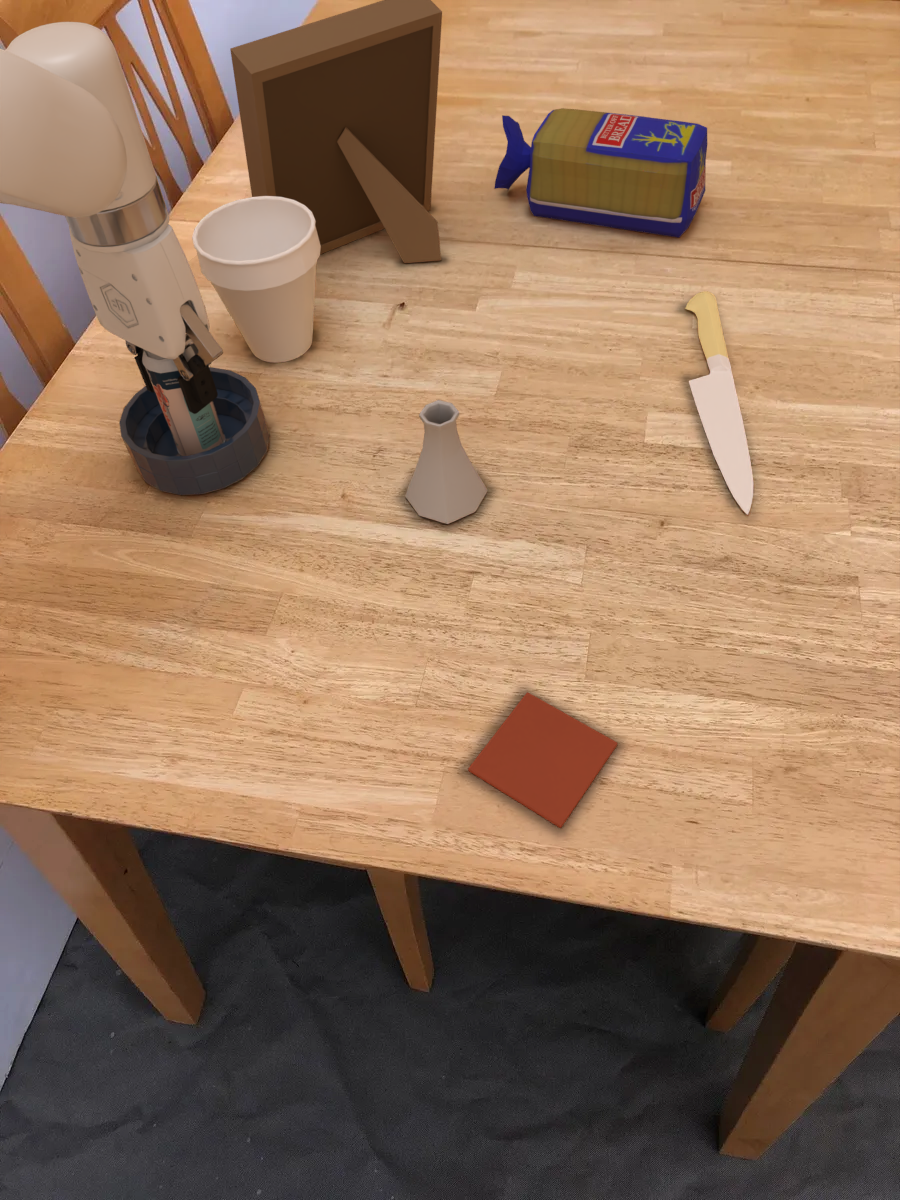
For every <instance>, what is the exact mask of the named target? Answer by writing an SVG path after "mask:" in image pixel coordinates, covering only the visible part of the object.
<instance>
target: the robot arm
mask: <svg viewBox="0 0 900 1200" xmlns="http://www.w3.org/2000/svg"><path fill="white" fill-rule="evenodd" d="M137 114H138V113H137V112H136V109H135V104H134V103H133V98H132V96H131V93H130V90H129V86H128V83H127V79H126V77H125V73H124V71H123V68H122V64H121V61H120V58H119V55H118V52H117V49H116V48H115V45H114V43H113V42H112V40H111V39H110V37H109V36H108V35H107V34H106V33H105V32H104V31H103V30H101V28H99V27H97V26H95V25H92V24H90V23H86V22H80V21H58V22H52V23H46V24H43V25H39V26H36V27H33V28H31V29H29V30H26V31H24V32H23V33H21V34H19V35H17V36H16V37H15V38H13V40H11V42H10V43H9V45H8V46H7V47H6V49H3V48H1V47H0V204H3V205H12V206H17V207H20V208H26V209H31V210H35V211H41V212H44V213H45V212H46V213H50V214H54V215H58V216H63V217H64V218H65V219H66V220H65V221H66V222H67V225H68V229H69V235H70V240H71V246H72V249H73V253H74V257H75V261H76V264H77V266H78V267H77V268H78V270H79V273H80V276H81V279H82V282H83V285H84V289H85V290H86V293H87V295H88V298H89V301H90V304H91V306H92V308H93V312H94V313H95V316H96V318H97V321H98V323H99V324H100V326H101V327H103V329H104V330H106V331H107V332H109V333H111V334H112V335H114V336H116V337H118V338H120V339H122V340H124V341H125V346H126V348H127V350H128V351H129V352H130V354H132V355H133V356H134V361H135V362H136V366H137V367H138V371H139V373H140V375H141V378H142V380H143V382H144V385H145V386H146V388H147V390H148V391H150V392H152V393H154V392H155V391H154V388H153V386H152V383H151V381H150V378H149V376H148V373H147V371H146V368H145V366H144V365H143V362H142V357H143V352H144V350H147V351H149V352H151V353H153V354H155V355H158V356H160V357H163V358H166V359H172V360H173V361H174V363H175V365H176V367H177V369H178V371H179V373H180V374H181V376H179V378H177V379H178V382H179V385H180V388H181V390H182V393H183V396H184V398H185V401H186V404H187V407H188V409H189V411H190V412H192V413H193V414H196V413H198V412H199V411H200V410H202V409H203V408H204V407H205V406H207V405H208V404H209V403H210V402H212V401H213V400H214V399H215V398H216V397H217V395H218V393H217V390H216V387H215V383H214V380H213V377H212V374H211V371H210V368H209V367H210V365H212V363H213V362H215V361H216V360H217V359H218V358H219V357H221V356H223V355H224V350H223V348H222V346H221V345H220V344H219V342H218V341H217V340H216V339H215V337H214V335H213V334H212V333H211V332H210V330H211V329H210V320H209V317H208V313H207V309H206V306H205V301H204V300H203V296H202V293H201V290H200V288H199V285H198V283H197V280H196V278H195V275H194V273H193V269H192V268H191V266H190V263H189V261H188V258H187V255H186V253H185V251H184V249H183V247H182V244H181V243H180V241H179V238H178V237H177V235H176V232H175V230H174V228H173V227H172V225H170V215H169V212H168V207H167V204H166V201H165V198H164V195H163V192H162V188H161V186H160V183H159V180H158V176H157V174H156V171H155V168H154V165H153V162H152V159H151V155H150V153H149V149H148V146H147V143H146V140H145V137H144V136H145V135H144V133H143V130H142V127H141V124H140V121H139V118H138V115H137ZM189 346H191V347H192V349H193V351H194V353H195V355H194V356H193V357H191V359H190V360H189V361H188V362H187V361H186V359H185V357H184V355H183V352H184V350H185V349H187V348H188V347H189ZM143 349H144V350H143Z"/></svg>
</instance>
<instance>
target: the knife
mask: <svg viewBox="0 0 900 1200" xmlns="http://www.w3.org/2000/svg"><path fill="white" fill-rule="evenodd" d="M684 309H685V310H686V311H687V310H688V311H690V312H692V313H694V314H695V316H696V318H697V334H698V335H697V336H698V338H699V341H700V346H701V348H702V351H703V354H704V356H705V359H706V363H707V366H708V369H709V374H706V375H703V376H700V377H697V378H693V379H690V380H688V384H689V388H690V390H691V393H692V398H693V400H694V404H695V407H696V409H697V412H698V415H699V418H700V421H701V424H702V426H703V430H704V432H705V435H706V438H707V441H708V444H709V446H710V449H711V452H712V454H713V458H714V459H715V461H716V464H717V467H718V468H719V470H720V473H721V474H722V477H723V479H724V481H725V483H726V486H727V488H728V489H729V492H730V493H731V495H732V497H733V499H734V501H735V502H736V503H737V505H738V506H739V507H740V509H741V510H742V511H743V512H744V513H745V515H747V516H749V514H750V511H751V507H752V503H753V498H754V476H753V469H752V468H753V467H752V463H751V457H750V451H749V450H750V449H749V445H748V444H749V443H748V440H747V436H746V430H745V424H744V419H743V415H742V411H741V406H740V402H739V398H738V392H737V389H736V384H735V380H734V375H733V371H732V366H731V362H730V359H729V353H728V349H727V345H726V341H725V336H724V335H725V334H724V330H723V326H722V321H721V317H720V312H719V306H718V301H717V298H716V296H715V294H713V293H712V292H711V291H709V290H706V291H705V290H704V291H700V292H698V293H695V295H693V297H691V298H690V299H689V301H688V302H687V304H686V306H685V307H684Z"/></svg>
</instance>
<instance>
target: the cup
mask: <svg viewBox="0 0 900 1200" xmlns="http://www.w3.org/2000/svg"><path fill="white" fill-rule="evenodd" d="M315 222H316V221H315V218H314V216H313V213H312V212H311V211H310V210H309V209H308V208H307V207H306V206H305V205H303V204H301V203H299V202H297V201H295V200H292V199H288V198H284V197H276V196H258V197H252V196H250V197H245V198H240V199H235V200H233V201H230V202H227V203H225V204H222V205H219V206H218V207H216V208H214V209H213V210H211V211H209V212H208V213H207V214H206V215H204V217H202V218H201V219H200V220H199V222H198V223H197V224H196V226H195V227H194V228H193V233H192V237H191V241H192V243H193V248H194V249H195V250H196V255H197V259H198V264H199V268H200V272H201V274H202V275H203V276H204V277H205V279H206V280H207V281H209V282H210V283H211V285H212V287H213V288H214V290H215V292H216V293H217V295H218V297H219V299H220V300H221V302H222V304H223V305H224V307H225V309H226V310H227V312H228V314H229V315H230V317H231V319H232V321H233V322H234V324H235V325H236V327H237V329H238V330H239V332H240V334H241V336H242V338H243V340H244V341H245V343H246V345H247V346H248V348H249V350H250V351H251V353H252V355H254V357H255V358H256V359H259V360H260V361H263V362H267V363H275V364H277V363H285V362H290V361H293V360H295V359H298V358H301V356H303V355H304V354H306V353H307V351H309V350H310V348H311V346H312V345H313V335H314V318H315V317H314V316H315V298H316V280H317V265H318V264H317V263H318V260H319V258H320V256H321V254H320V249H321V245H320V242H319V238H318V234H317V230H316V226H315Z"/></svg>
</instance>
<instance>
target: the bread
mask: <svg viewBox="0 0 900 1200" xmlns="http://www.w3.org/2000/svg"><path fill="white" fill-rule="evenodd" d="M501 116H502V117H501V118H502V119H501V121H502V128H503V131H504V134H505V138H506V141H507V143H506V151H505V154H504V157H503V159H502V160H501V162H500V164H499V165H498V169H497V173H496V176H495V181H494V186H493V189H494V190H497V189H506V190H507V191H509V190H510V189H511V187H512V186H513V184H514V183H515V182H516V181H517V180H518V179H519V177H521V175H522V174H523V173H525V172H526V171H527V170H528V175H527V180H526V181H527V182H526V187H525V191H526V198H527V202H528V207H529V211H530V212H531V215H533V217H537V218H546V219H551V220H558V221H565V222H571V223H572V222H573V223H578V224H584V225H591V226H598V227H603V228H605V227H606V228H612V229H618V230H624V231H625V230H626V231H632V232H639V233H646V234H652V235H659V236H666V237H673V238H681V236H682V235H683V234H684V233H685V232H686V231H687V230H688V229H689V227H690V226H691V223H692V222H693V220H694V217H695V216H696V215H697V214H696V213H697V212H698V209H699V207H700V204H701V202H702V200H703V198H704V196H705V195H704V194H705V192H706V176H707V175H706V170H707V167H706V163H707V162H706V161H707V151H708V127H707V126H705V125H702V124H699V123H696V122H688V121H683V120H682V121H681V120H674V119H673V120H672V119H665V118H657V117H649V116H642V115H634V114H626V113H615V112H606V111H605V112H604V111H595V110H587V109H586V110H585V109H578V108H577V109H576V108H566V107H565V108H564V107H563V108H556V109H552V110H551V111H549V112H548V113H547V115H546V116H545V117H544V119H543V121H542V122H541V124H540V125H539V127H538V128H537V130H536V131H535V133H534V134H533V137H532V140H531V144H530V145H529V144H528V143H527V142H526V141H525V138H524V134H523V131H522V129H521V126H520V123H519V122H518V121H516V120H515V119H514V118H513V117H512V116H510V115H501Z"/></svg>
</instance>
